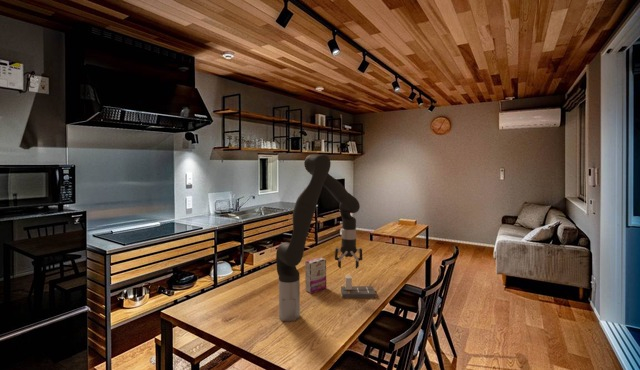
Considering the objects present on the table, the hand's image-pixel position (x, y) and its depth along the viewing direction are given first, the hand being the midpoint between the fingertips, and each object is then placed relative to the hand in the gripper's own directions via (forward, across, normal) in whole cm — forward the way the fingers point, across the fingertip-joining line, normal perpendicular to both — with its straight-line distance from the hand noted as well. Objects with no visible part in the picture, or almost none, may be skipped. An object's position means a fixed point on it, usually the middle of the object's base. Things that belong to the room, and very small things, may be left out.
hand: (348, 267), depth 172 cm
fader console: (+14, +5, 0) cm, 15 cm away
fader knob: (+12, 0, 0) cm, 12 cm away
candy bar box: (+14, -17, +6) cm, 23 cm away
